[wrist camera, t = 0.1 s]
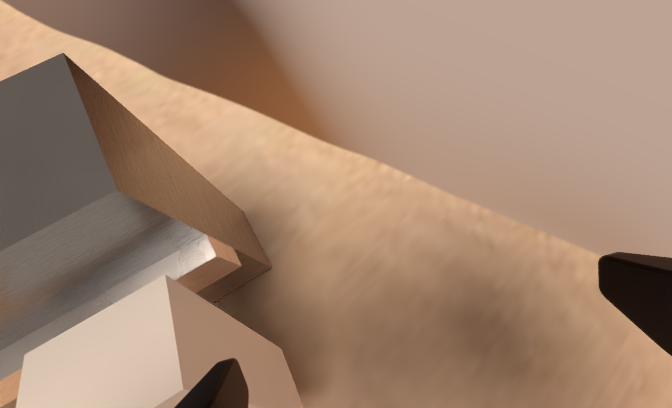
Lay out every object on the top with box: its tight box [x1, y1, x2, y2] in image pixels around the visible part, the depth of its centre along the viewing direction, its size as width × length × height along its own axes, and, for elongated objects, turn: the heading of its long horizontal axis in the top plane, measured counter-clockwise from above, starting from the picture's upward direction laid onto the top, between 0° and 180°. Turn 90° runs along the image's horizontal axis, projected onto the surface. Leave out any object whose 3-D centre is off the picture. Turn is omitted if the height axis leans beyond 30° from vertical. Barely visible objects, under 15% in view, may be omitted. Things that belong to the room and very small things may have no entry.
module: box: [16, 274, 304, 408], centre depth 13 cm, size 5×5×11 cm
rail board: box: [0, 53, 272, 408], centre depth 15 cm, size 6×18×16 cm, turn 121°
